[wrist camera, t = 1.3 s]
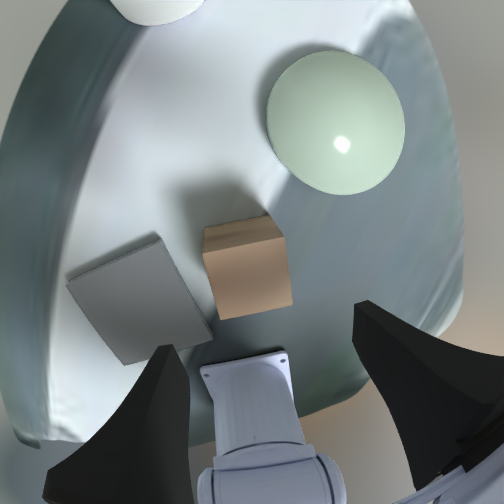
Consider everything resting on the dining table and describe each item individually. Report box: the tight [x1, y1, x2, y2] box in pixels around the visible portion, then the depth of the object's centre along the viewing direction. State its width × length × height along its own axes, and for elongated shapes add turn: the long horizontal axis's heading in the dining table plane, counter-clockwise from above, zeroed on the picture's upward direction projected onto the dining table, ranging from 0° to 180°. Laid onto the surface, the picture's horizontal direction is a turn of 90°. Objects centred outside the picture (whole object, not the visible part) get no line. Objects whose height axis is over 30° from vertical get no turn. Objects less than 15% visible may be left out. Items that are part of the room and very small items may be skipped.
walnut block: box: [202, 215, 293, 320], centre depth 18 cm, size 4×4×4 cm
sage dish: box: [266, 51, 405, 195], centre depth 17 cm, size 10×10×1 cm
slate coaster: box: [66, 239, 213, 366], centre depth 20 cm, size 9×9×1 cm
